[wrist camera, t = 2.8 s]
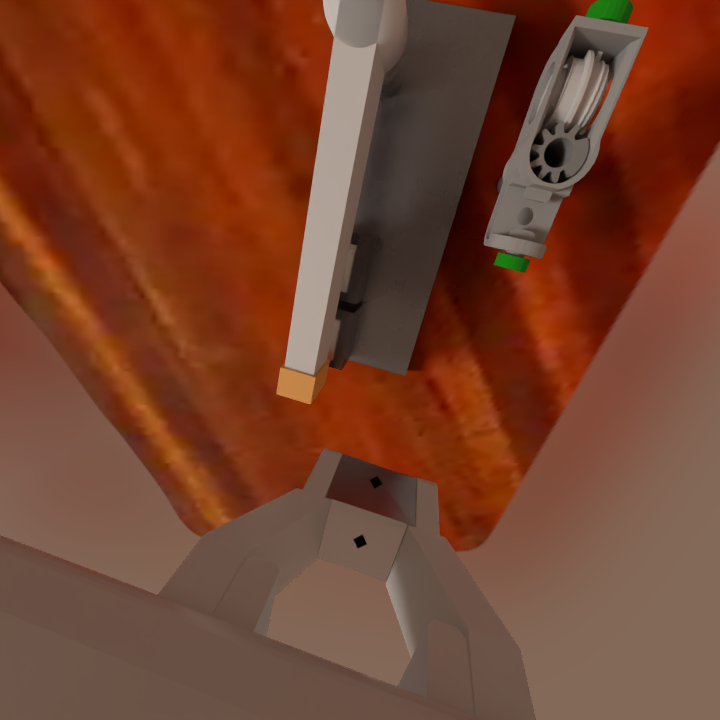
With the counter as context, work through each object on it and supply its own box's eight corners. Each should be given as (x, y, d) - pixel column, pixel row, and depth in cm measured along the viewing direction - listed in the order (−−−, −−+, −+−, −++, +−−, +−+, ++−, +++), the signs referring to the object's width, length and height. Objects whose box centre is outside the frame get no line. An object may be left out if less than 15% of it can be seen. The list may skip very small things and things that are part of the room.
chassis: (372, 3, 21) (354, -72, 16) (511, 27, 21) (539, -43, 15) (311, 343, 30) (287, 365, 25) (406, 370, 30) (401, 398, 24)
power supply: (328, 225, 25) (312, 223, 22) (378, 237, 25) (370, 237, 22) (317, 284, 27) (301, 291, 24) (364, 296, 27) (355, 305, 23)
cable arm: (348, -15, 17) (330, -72, 14) (416, -3, 17) (414, -59, 13) (287, 372, 25) (268, 391, 22) (332, 385, 25) (318, 407, 22)
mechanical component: (463, 253, 25) (483, 262, 16) (516, 93, 22) (582, -14, 12) (502, 263, 25) (544, 277, 16) (562, 102, 21) (665, -1, 12)
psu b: (316, 292, 27) (300, 300, 24) (362, 305, 27) (352, 314, 24) (307, 343, 29) (291, 357, 26) (350, 355, 29) (340, 372, 25)
